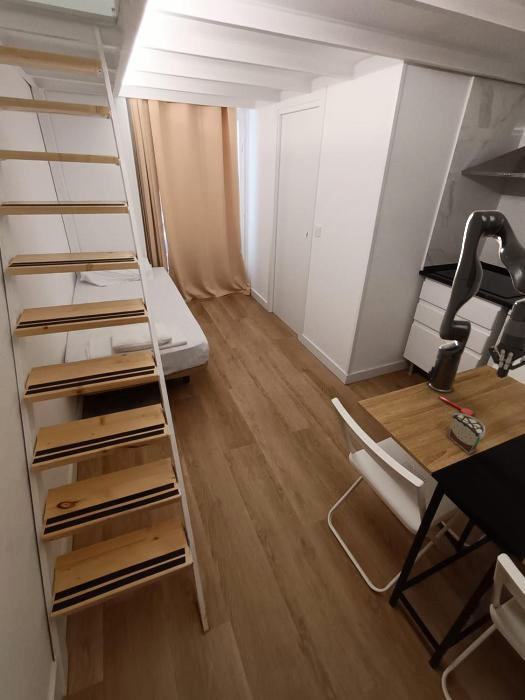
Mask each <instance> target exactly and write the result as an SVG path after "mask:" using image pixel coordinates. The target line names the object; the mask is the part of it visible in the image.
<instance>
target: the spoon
mask: <svg viewBox="0 0 525 700" xmlns="http://www.w3.org/2000/svg"><path fill="white" fill-rule="evenodd" d="M439 399H440V400H442V401H444V402H445V403H447V404H449V405H450V406H453V407H455V408H456V409H458V410H460V413H462V414H467V415H470V416H472V417H473V415H474V411H473V410H471V409H470V408H467V407H462V406H460V405H458V404H456V403H455V402H453V401H451V400H449V399H447V398H445V397H444V396H439Z"/></svg>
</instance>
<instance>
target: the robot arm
mask: <svg viewBox="0 0 525 700" xmlns="http://www.w3.org/2000/svg"><path fill="white" fill-rule="evenodd" d="M481 238H483V239H485V238H492V239H494V240H495V241H496V242H497V243H498V244H499V245H498V246H499V248H498V257H499V260H500V262H501V263H502V265H503V266H504V268H505V269H506V270H507V271H508V272H509V275H510V278H511V281H512V282H511V283H512V285H513V287H514V288H513V289H514V290H516V292H518V293H520V294H522V295H525V247H524V246H523V245H522V243H521V242H520V241H519V239H518V237H517V234H516V233H515V231H514V230H513V227H512V226H511V223H510V221H509V220H508V218H507V217H506V215H505V214H504V213H503V212H502V211H500V210H496V209H495V210H494V209H493V210H492V209H491V210H475V211H473V212H472V213H471V214H470V215H469V216H468V219H467V221H466V225H465V229H464V233H463V240H462V247H461V252H460V256H459V260H458V263H457V268H456V271H455V275H454V278H453V282H452V286H451V290H450V295H449V298H448V302H447V305H446V309H445V311H444V313H443V317H442V319H441V322H440V325H439V333H438V335H439V339H440V340H444V341H450V342H447V343H443V344H441V345H440V346H439V347H438V350H437V354H436V358H435V361H434V365H432V366H431V369H430V370H428V373H427V376H428V381H427V385H428V386H429V387H430V389H432V390H433V391H436V392H439V393H450V392H452V391H453V386H454V383H455V382H456V376H457V373H458V369H459V366H460V363H461V360H462V356H463V353H464V352H465V349H466V346H467V344H468V341H469V338H470V335H471V332H472V323H471V322H470V320H468V319H461V318H456V316H457V314H458V312H459V311H460V310H461V309H462V308H463V307H464V306H465V305H466V304H467V303H468V302H469V301H471V300H472V299H473V297H474V296H475V295H477V293H478V292H479V290H480V286H481V283H482V280H483V277H484V271H483V267H482V263H481V260H480V258H479V253H478V250H479V246H480V245H479V244H480V240H481ZM501 333H502V334H501V336H500V339H499V343H497V344H496V345H495V346H494V345H493V346H490V347H488V352H489V354H490V357H491V358H492V361H493V363H494V364H495V365H497V366H498V368H497V371H496V375H497V378H500V379H504V378H506V377H507V376H508V375H509V372H510V371H515V370H516V369H518V368H521V367H523V366H525V297H524V298H522V299H519V300H518V299H517V300H516V301H514V303H513V305H512V308H511V311H510V314H509V316H508V318H507V320H506V322H505V324H504V327H503V331H502V332H501ZM518 360H519V362H518V363H517V364H514V363H515V362H516V361H518Z"/></svg>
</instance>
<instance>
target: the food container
mask: <svg viewBox="0 0 525 700" xmlns="http://www.w3.org/2000/svg"><path fill="white" fill-rule="evenodd" d="M450 418H451V422H450V427H449V432H448V438H449V439H451V440H452V442H454V443H455V444H456V445H457V446H458V447H460V448H461V450H463V451H465V452H466V454H468V455H472V454H473V453H474V451H475V450H476V448H477V446H478V445H479V443H480V441H481V440H483V438H485V436H486V427H485V424H484V423H483V422H482V421H481V420H479V419H478V418H476V417H474V416H473V415H472V416H470V415H467V414H462V413H461V412H454V413H453V414H451V416H450Z"/></svg>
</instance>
